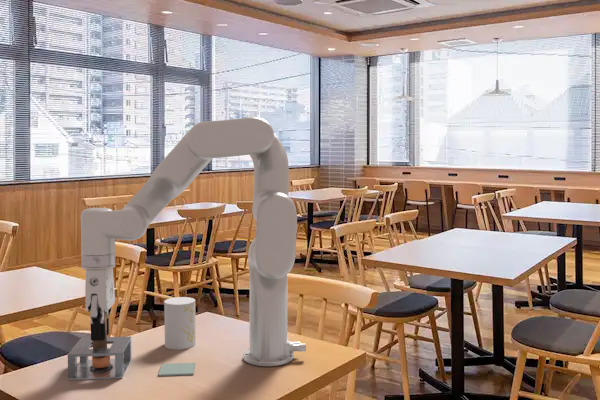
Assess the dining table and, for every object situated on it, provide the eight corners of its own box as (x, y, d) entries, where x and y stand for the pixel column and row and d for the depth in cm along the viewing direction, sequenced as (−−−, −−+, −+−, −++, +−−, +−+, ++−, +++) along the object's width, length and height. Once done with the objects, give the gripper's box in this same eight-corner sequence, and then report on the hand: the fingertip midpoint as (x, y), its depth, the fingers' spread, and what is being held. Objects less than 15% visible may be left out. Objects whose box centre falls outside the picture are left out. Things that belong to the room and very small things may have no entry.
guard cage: (131, 360, 148) (131, 336, 148) (122, 378, 136) (122, 352, 136) (81, 361, 147) (81, 337, 146) (68, 380, 135) (67, 354, 135)
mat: (195, 364, 146) (195, 362, 146) (193, 374, 139) (193, 373, 139) (162, 365, 145) (162, 363, 145) (158, 376, 138) (158, 374, 138)
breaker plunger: (111, 361, 144) (111, 353, 144) (108, 367, 140) (107, 358, 140) (94, 362, 143) (94, 353, 143) (90, 368, 139) (90, 359, 139)
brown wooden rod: (108, 353, 143) (107, 300, 142) (105, 358, 140) (104, 304, 139) (94, 354, 143) (93, 300, 142) (91, 358, 140) (90, 304, 138)
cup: (188, 350, 156) (188, 305, 155) (159, 348, 157) (159, 303, 156) (200, 340, 163) (199, 297, 162) (172, 338, 165) (171, 296, 164)
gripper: (107, 267, 132) (109, 348, 133) (121, 254, 148) (122, 327, 149) (72, 267, 131) (74, 349, 132) (90, 254, 147) (91, 327, 149)
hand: (100, 336), depth 141 cm, fingers closed on brown wooden rod, 3 cm apart
